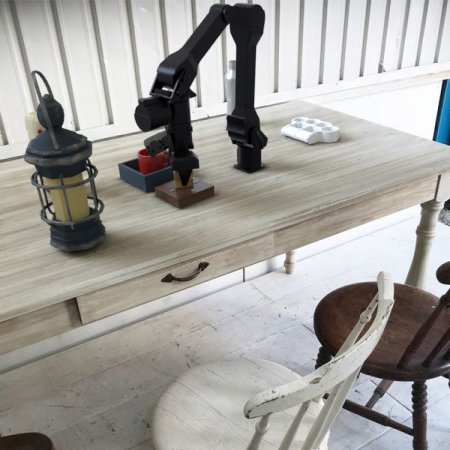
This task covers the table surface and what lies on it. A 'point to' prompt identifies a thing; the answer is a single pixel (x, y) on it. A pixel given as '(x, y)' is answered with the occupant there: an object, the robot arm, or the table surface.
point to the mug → (152, 161)
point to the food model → (34, 132)
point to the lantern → (64, 177)
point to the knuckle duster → (311, 130)
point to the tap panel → (184, 193)
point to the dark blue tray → (144, 182)
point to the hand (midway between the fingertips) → (184, 184)
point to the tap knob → (178, 180)
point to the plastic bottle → (230, 86)
